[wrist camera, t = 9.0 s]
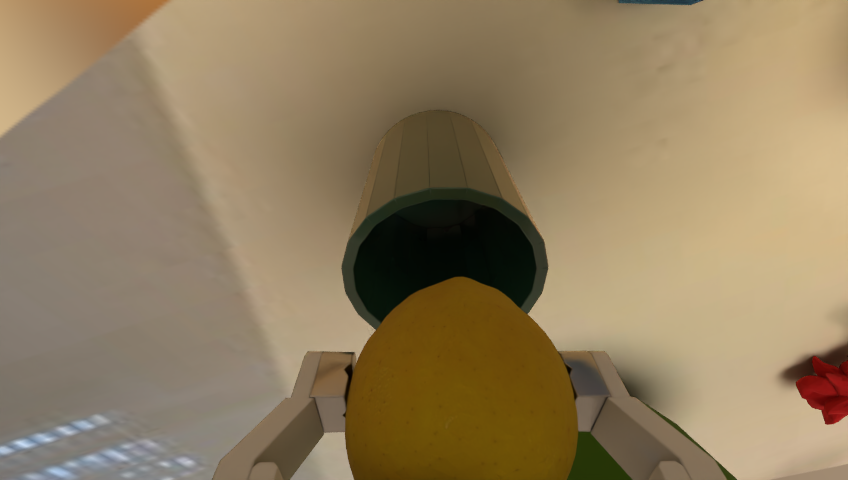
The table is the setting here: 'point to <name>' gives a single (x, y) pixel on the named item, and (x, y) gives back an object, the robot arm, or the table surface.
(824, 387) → the figurine
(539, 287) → the green cup
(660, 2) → the perfume bottle
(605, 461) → the vase
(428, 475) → the apple
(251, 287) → the table surface
